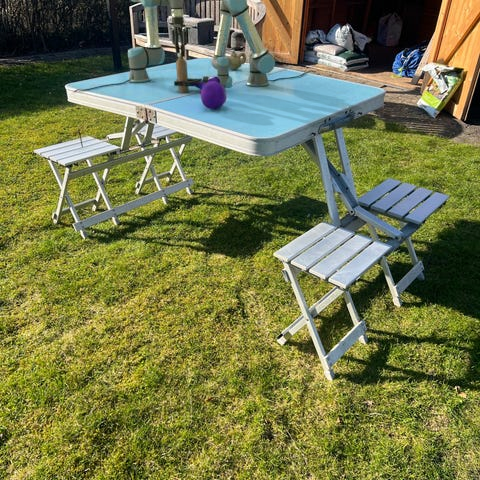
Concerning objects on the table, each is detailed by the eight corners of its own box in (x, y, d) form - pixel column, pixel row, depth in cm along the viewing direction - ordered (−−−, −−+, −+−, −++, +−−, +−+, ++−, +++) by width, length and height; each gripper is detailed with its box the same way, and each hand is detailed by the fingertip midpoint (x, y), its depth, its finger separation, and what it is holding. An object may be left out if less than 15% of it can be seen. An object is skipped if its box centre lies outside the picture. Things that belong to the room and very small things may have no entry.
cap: (184, 55, 295) (184, 52, 294) (182, 56, 292) (181, 53, 291) (179, 55, 296) (179, 52, 295) (176, 56, 293) (176, 53, 292)
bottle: (190, 91, 306) (188, 54, 294) (183, 93, 301) (180, 55, 289) (183, 90, 310) (180, 53, 298) (176, 92, 305) (172, 54, 293)
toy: (213, 100, 281) (226, 115, 260) (186, 95, 274) (197, 111, 253) (219, 74, 273) (233, 88, 252) (191, 69, 266) (203, 83, 245)
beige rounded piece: (226, 72, 363) (226, 52, 355) (220, 70, 372) (219, 50, 364) (249, 69, 372) (249, 50, 365) (242, 67, 381) (241, 48, 373)
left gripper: (164, 16, 284) (167, 56, 296) (182, 17, 275) (185, 58, 287) (172, 15, 289) (176, 54, 301) (191, 16, 280) (193, 56, 292)
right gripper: (207, 91, 294) (172, 91, 296) (211, 85, 311) (179, 85, 313) (206, 79, 290) (171, 79, 292) (211, 73, 307) (178, 73, 309)
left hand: (180, 56), depth 294 cm, fingers closed on cap, 4 cm apart
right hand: (175, 82), depth 303 cm, fingers closed on bottle, 7 cm apart
